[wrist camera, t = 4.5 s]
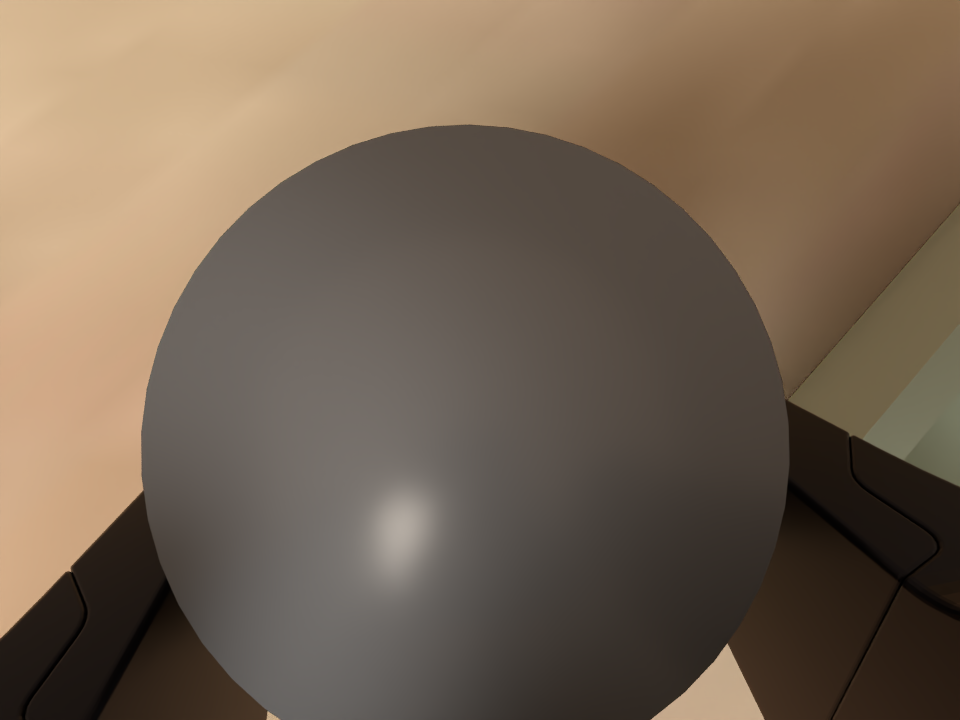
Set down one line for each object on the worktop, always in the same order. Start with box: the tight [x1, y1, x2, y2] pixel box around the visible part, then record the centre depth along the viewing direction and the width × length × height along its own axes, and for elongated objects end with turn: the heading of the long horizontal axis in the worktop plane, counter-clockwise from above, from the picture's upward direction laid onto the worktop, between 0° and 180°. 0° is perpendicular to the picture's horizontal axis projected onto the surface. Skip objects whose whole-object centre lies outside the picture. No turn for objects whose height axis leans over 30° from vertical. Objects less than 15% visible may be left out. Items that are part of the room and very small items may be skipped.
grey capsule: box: [141, 125, 789, 720], centre depth 10 cm, size 5×5×11 cm
